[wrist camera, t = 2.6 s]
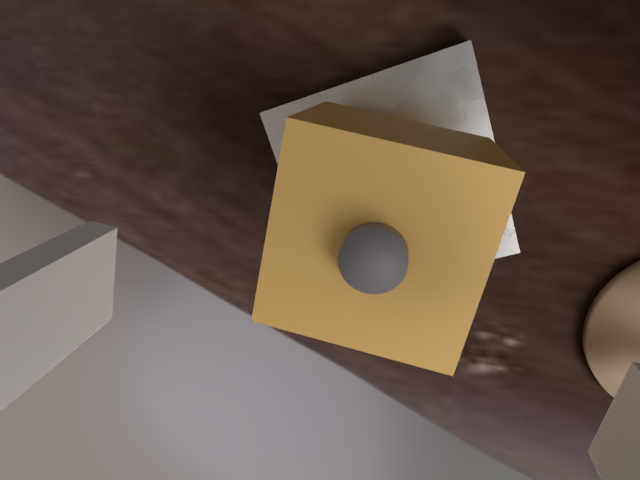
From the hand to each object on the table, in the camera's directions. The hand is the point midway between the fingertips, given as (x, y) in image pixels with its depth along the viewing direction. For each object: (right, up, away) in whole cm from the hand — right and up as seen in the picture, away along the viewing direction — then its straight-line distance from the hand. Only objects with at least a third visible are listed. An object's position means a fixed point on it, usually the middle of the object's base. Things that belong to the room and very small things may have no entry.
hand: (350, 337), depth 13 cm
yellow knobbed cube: (+3, +5, +13) cm, 14 cm away
